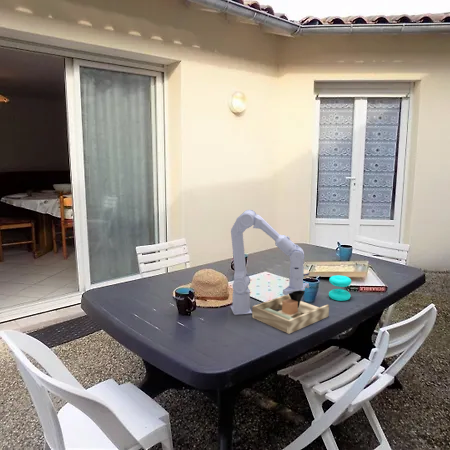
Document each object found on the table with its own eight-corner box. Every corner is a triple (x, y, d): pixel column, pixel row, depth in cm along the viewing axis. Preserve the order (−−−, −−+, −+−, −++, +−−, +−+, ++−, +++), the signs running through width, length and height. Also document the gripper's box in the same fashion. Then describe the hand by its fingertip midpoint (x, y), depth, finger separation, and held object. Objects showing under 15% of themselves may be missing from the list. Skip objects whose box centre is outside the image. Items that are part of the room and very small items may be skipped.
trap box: (288, 333, 147) (289, 321, 147) (252, 317, 163) (252, 306, 162) (328, 316, 163) (329, 305, 162) (291, 303, 178) (292, 292, 177)
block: (290, 314, 159) (290, 304, 158) (282, 311, 162) (282, 301, 161) (297, 311, 162) (297, 301, 161) (289, 308, 165) (289, 298, 164)
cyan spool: (347, 282, 176) (326, 278, 182) (346, 303, 178) (325, 298, 183) (354, 276, 184) (333, 273, 190) (353, 296, 186) (332, 292, 191)
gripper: (292, 282, 154) (291, 314, 157) (315, 275, 163) (314, 305, 166) (279, 278, 160) (278, 309, 162) (301, 271, 169) (301, 301, 171)
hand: (295, 307), depth 164 cm, fingers closed
